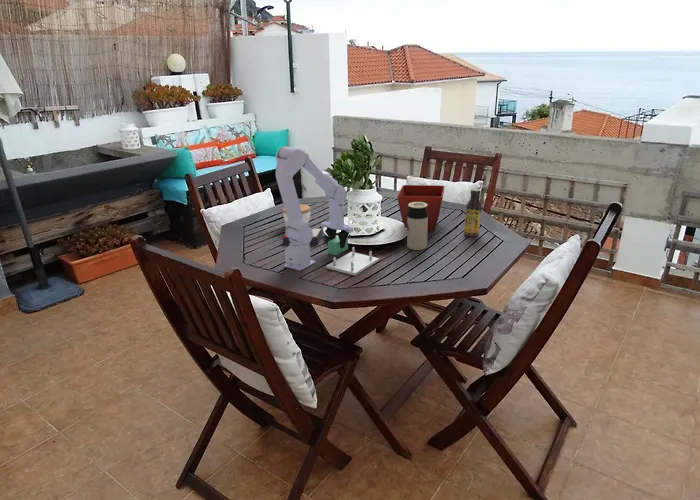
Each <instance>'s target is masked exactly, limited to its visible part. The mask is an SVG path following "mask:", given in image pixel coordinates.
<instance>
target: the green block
mask: <svg viewBox="0 0 700 500" xmlns="http://www.w3.org/2000/svg"><path fill="white" fill-rule="evenodd" d="M348 239H349V236H348V237H347V240H346V243H345V247H344V248H342V249H341V248H340V240H339V236H338V235H337V236H336V238H334V239H332V240H328V241H327V254H330V255H332V256H333V255H334V256H338V255H340V254H341V253H344V252H345V251H347V250H349V240H348Z"/></svg>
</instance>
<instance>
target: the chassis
mask: <svg viewBox="0 0 700 500" xmlns="http://www.w3.org/2000/svg"><path fill="white" fill-rule="evenodd" d="M332 260H333V261H332V262H330V263H329V264H327V265H326V266H325V268H326V269H327V270H333V271H336V272H340V273H344V274H347V275H351V276H357V275H359V274H360V273H362V272H364V271H365V270H366V269H368V268H370V267H371V266H373V265H374V264H377V263H378V262H379V261H380V258H379V257H375V256H373V251H372V250H370V251H369V255H367V254H364V253H363V254H362V253H359V252H356V250H355V246H353V247H351V251H350V252H348V253H347V254H345V255H343V256H341V257H339V258H337V257H335V256H333V258H332Z"/></svg>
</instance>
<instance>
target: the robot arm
mask: <svg viewBox="0 0 700 500" xmlns="http://www.w3.org/2000/svg"><path fill="white" fill-rule="evenodd" d="M274 157H275V161H276V165H275V178H276V183H277V186H278V190H279V194H280V196H281V200H282V203H283V208H284V207H285V211H286V214H287V218H288V220H287V221H286V222H285V223H284V226H285V235H286V236H287V237H288V238H289V241H290V244H288V246H287V247H285V250H284V259H285V264H284V267H285V268H289V269H292V270H295V271H299V272H300V271H302V270H304V269H306V268H308V267H310V266H311V265H314V264H316V260H312V258H311V245H310V241H311V240H312V238H313V231H312V230H311V229H312V228H311V227H310V226H309V222H308V223H307V221H306V220H305V219H304V218H303V216H302V212H301V208H300V204H301V203H300V201H299V197H298V194H297V190H296V186H295V182H294V179H293V177H294V175H296V173H297V172H299V170H300V169H301V168H303V169H305V171H306V172H308V174H310V175H312V176H313V177H314V178H315V179H314V180H315V183H316V185H317V186H319V188H321V189H322V190H323V192H324V195H325V197H327V198H328V214H329V221H324V220H323V222H320V223H321V224H320V225H321V228H326V229H325V230H324V233H325V234H326V236H327V237H328V241H330V240H332V239H334V238H336V237H338V236H339V240H340V248H341V249H342V248H344V247H345V243H346V240H347V237H348V238H349V236H348V235H349V233H352V232H354V228H353V227H351V226H348V225H346V224H345V223H344V219H345V209H344V208H345V207H344V206H345V205H344V204H345V198H346V196H347V190H346V189H345V187H344V185H341V184H339V183H338V180H337V179H335V178H333V177H332V174H331V172H328V171H324V170H323V171H322V170H321V169H320V168H319V166H318V165H317V164H316V163H315V162H314V161H313V160H312V159H311V157H310V155H309V153H307V152H306V151H305V150H304V149H302V148H296V147H290V146H287V145H284V146H281V147H280V148H279V149H278V151H277V152H276V154H275V156H274ZM337 230H341V232H338V233H336V232H337Z"/></svg>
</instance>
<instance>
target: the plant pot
mask: <svg viewBox="0 0 700 500" xmlns="http://www.w3.org/2000/svg"><path fill="white" fill-rule="evenodd" d="M444 192H445V185H437V184H436V185H430V184H427V185H425V184H423V185H422V184H420V185H419V184H418V185H417V184H404V185H403V184H402V186H401V188H400V190H399V191H398V194H397V204H398V208H399V211H400V216H401V220H402V223H403V226H404V229H405V228H407V218H408V211H409V206H408V204H409V203H412V202H424V203H426V204H427V208H426V210H427V212H428V228H427V232H428V231H429V232H434V231H435V230H436V227H437V224H438V220H439V216H440V211H441V207H442V204H443V200H444V199H443V198H444Z"/></svg>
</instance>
